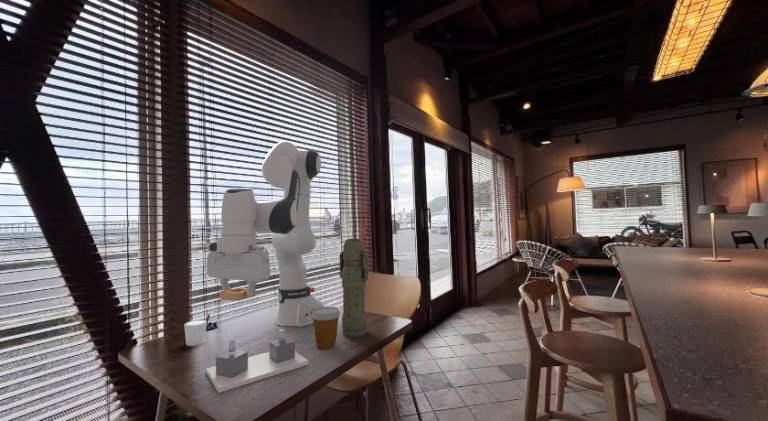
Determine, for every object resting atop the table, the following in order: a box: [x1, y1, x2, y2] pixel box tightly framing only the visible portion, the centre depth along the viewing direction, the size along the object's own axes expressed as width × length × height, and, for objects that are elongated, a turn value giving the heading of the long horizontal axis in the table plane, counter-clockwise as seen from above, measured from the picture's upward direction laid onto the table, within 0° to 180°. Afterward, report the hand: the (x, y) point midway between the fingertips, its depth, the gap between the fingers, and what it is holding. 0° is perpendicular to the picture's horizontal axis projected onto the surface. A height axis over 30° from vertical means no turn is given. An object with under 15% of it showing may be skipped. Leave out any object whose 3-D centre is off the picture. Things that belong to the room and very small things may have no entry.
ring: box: [219, 286, 257, 302], centre depth 91 cm, size 6×6×2 cm
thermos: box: [339, 238, 369, 339], centre depth 122 cm, size 9×12×35 cm
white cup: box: [183, 319, 207, 347], centre depth 115 cm, size 7×7×7 cm
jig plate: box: [205, 328, 309, 394], centre depth 94 cm, size 24×14×10 cm, turn 129°
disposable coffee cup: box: [311, 306, 341, 351], centre depth 110 cm, size 10×10×12 cm
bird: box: [205, 313, 218, 331], centre depth 130 cm, size 8×7×8 cm
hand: (237, 295), depth 91 cm, fingers closed on ring, 6 cm apart
